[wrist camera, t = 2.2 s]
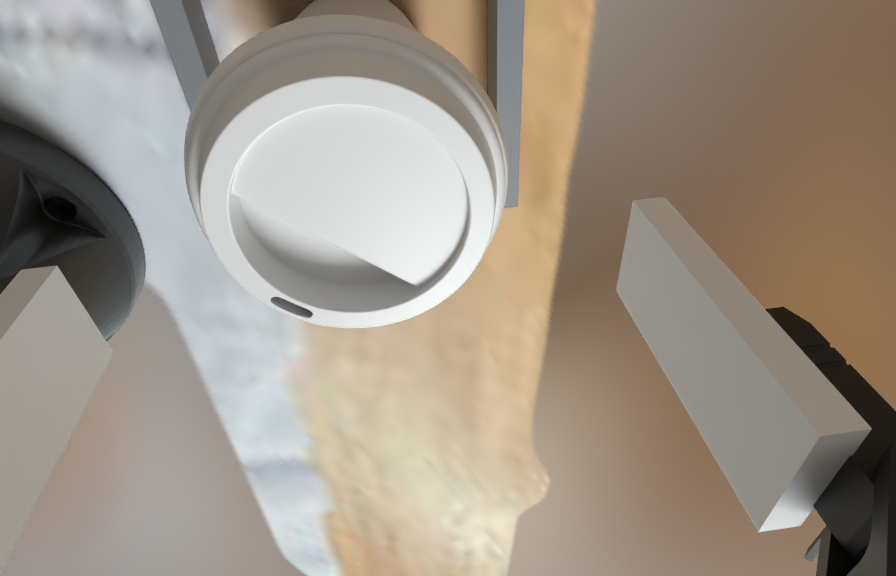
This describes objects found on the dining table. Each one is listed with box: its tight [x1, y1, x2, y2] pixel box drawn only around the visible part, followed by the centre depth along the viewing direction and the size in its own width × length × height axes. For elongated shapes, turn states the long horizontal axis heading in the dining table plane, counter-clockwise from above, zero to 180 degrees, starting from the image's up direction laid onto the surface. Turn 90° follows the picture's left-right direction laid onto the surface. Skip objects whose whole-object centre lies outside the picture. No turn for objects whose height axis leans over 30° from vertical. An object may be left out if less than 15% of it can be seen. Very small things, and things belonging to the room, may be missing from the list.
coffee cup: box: [184, 0, 509, 328], centre depth 20 cm, size 10×10×15 cm
